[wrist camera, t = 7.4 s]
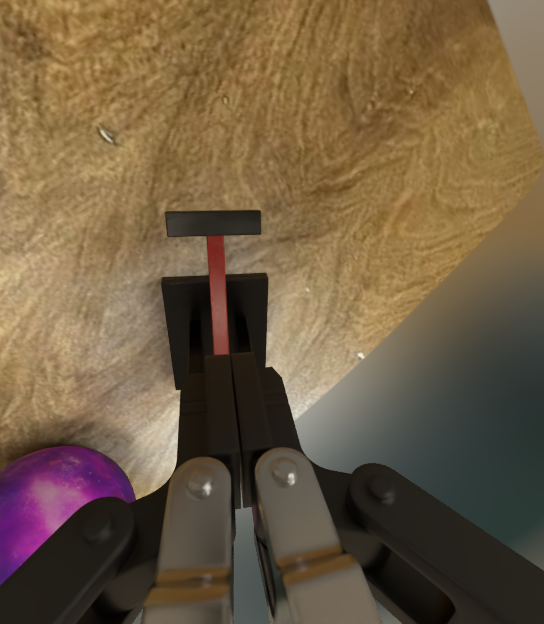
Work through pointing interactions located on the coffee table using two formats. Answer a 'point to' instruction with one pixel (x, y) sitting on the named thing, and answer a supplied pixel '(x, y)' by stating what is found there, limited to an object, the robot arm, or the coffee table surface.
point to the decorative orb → (50, 496)
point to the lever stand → (198, 322)
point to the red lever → (215, 254)
